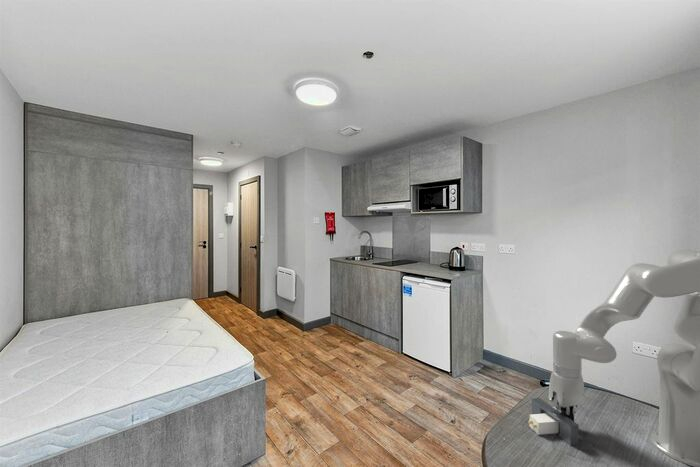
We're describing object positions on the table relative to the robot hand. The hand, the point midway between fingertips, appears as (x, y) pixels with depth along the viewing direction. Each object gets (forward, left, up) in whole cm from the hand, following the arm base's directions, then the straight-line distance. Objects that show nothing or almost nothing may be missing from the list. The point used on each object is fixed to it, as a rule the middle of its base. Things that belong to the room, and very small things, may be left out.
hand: (567, 423), depth 95 cm
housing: (+5, +2, -1) cm, 6 cm away
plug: (+6, +3, -1) cm, 7 cm away
